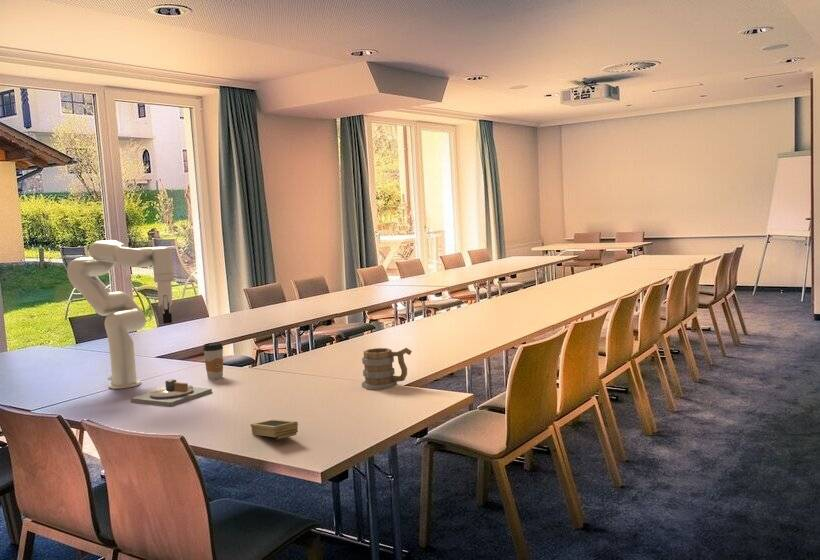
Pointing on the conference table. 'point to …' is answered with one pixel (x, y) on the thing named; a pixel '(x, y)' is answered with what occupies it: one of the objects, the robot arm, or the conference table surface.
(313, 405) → the conference table surface
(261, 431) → the box
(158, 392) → the dial
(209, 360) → the coffee cup
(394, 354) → the tankard
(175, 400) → the dial plate
